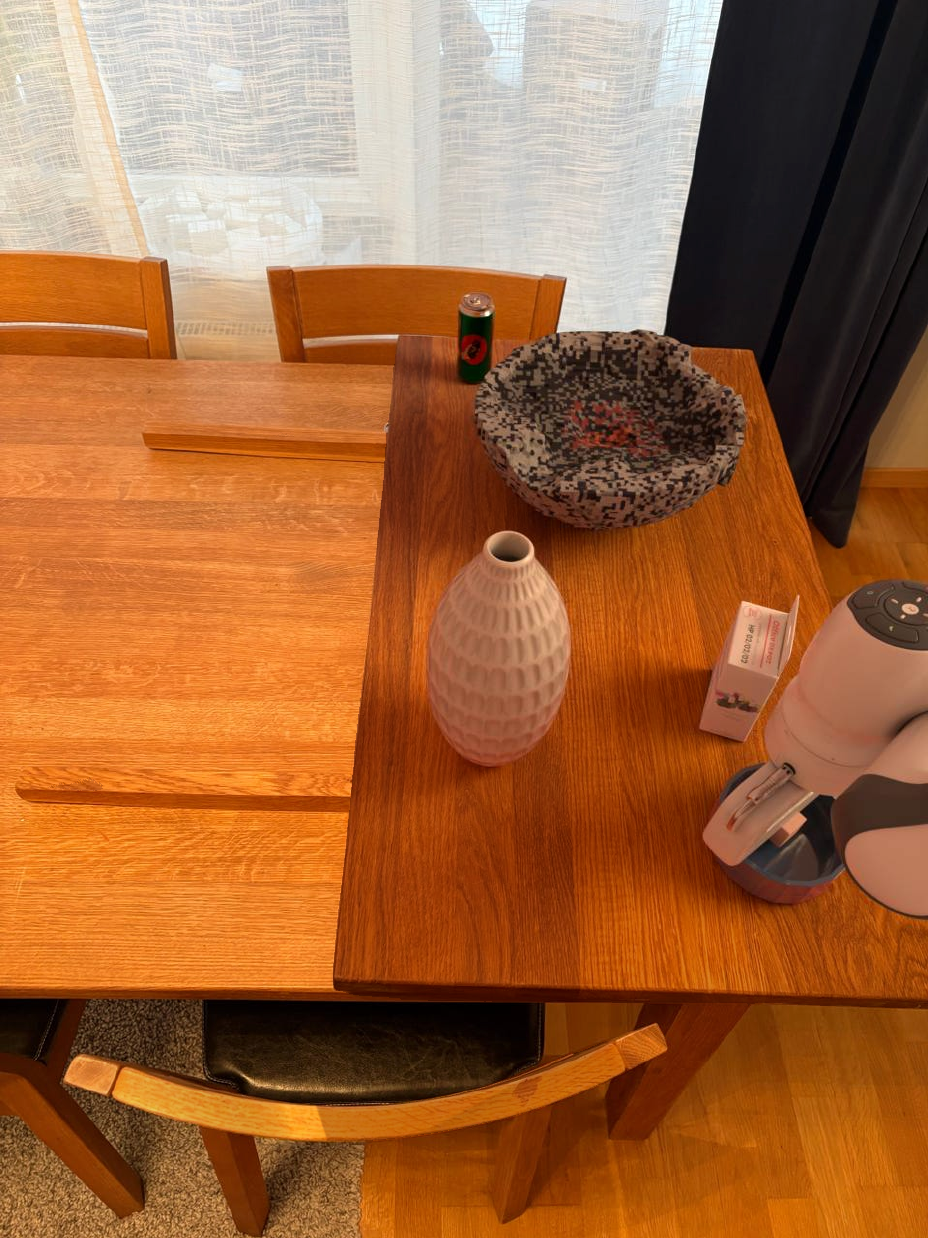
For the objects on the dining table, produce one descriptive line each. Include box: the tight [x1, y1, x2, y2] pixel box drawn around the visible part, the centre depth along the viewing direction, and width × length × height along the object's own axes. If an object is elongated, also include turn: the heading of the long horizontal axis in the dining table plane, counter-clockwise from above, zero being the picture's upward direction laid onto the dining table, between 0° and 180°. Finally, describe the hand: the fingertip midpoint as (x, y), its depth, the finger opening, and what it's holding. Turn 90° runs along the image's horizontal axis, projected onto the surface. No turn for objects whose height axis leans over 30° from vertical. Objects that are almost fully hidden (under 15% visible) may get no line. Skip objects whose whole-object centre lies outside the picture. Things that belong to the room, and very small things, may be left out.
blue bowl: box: [707, 762, 846, 905], centre depth 79 cm, size 12×12×4 cm
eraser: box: [769, 812, 807, 848], centre depth 79 cm, size 5×3×3 cm, turn 38°
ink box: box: [698, 594, 800, 743], centre depth 84 cm, size 8×5×15 cm, turn 160°
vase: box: [425, 530, 572, 768], centre depth 76 cm, size 13×13×28 cm
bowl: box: [473, 328, 748, 532], centre depth 105 cm, size 31×31×15 cm
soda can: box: [456, 291, 496, 385], centre depth 121 cm, size 5×5×12 cm
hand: (774, 816), depth 79 cm, fingers closed on eraser, 2 cm apart
